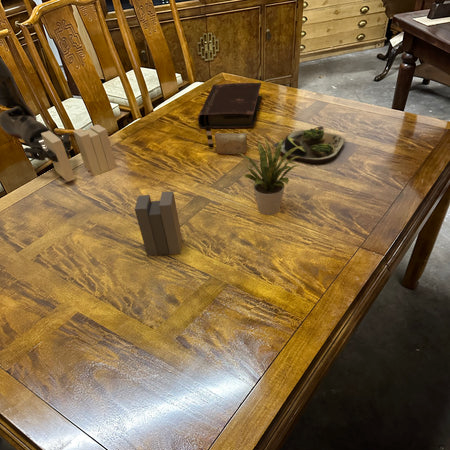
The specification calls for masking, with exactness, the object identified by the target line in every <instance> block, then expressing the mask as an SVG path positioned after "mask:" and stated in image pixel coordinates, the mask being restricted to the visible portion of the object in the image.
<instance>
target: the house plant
mask: <svg viewBox="0 0 450 450" xmlns="http://www.w3.org/2000/svg"><path fill="white" fill-rule="evenodd" d="M283 140H284V137H282V138H281V139H280V141H278V142H279V144H278V146H277V148H276V149H275V152H274V155H273V153H272V149H271V146H270V144H269V143H268V141H267V140H266V139H264V142H265V145H266V147H267V149H266V147H265V146H262V145H263V144H261V142H260V141H259V140H257V142H256V143H257V148H258V153H259V161H260V164H259V166H260V167H258V165H257V164H256V163H255V162H254V161H253V160H252V158H251V157H249V156H247V155H246V154H245V153H238V154H237V155H241V156H242V157H244V158H245V159H246V160H247V161H248V162H249V163H250V165H251V166H252V167H253V168H254V169H255V170H256V171H257V173H256V171H255V170H254V169H252V168H251V167H250V166H248V165H246V168H247V169H248V171H249V172H250V173H251V174H250V173H245V174H243V175H242V177H245V178H248V179H250V180H252V181H254V182H253V183H254V184H253V191H254V196H255V201H256V206H257V211H258V212H259V214H261V215H264V216H274V215H277V214H278V213H280V211H281V206H282V202H283V201H282V200H283V196H284V191H285V190H286V189H285V184H286V185H288V183H289V181H290V179H289V177H287V176H286V175H287V174H288V173H289V172H290V171H291V170H293V169H294V168H296V167H299V166H300V164H297V163H295V161H293V159H295V158H297V157H301V156H296V157H293V158H291V159H290V160H289V159H288V161H286V162H285V160H286V159H287V158H286V157H287V156H288V155H289V154H291V153H292V152H293V151H294V150H296V149H298V148H301V147H303V146H299V147H295V148H293V149H291V150H289V151H288V152H287V153H286V154H285V155H284V156H283V155H282V157H281V158H280V156H281V149H282V142H283ZM279 158H280V161H279ZM278 161H279V162H278ZM283 163H284V164H283ZM288 164H292V166H289V165H288ZM258 174H259V175H258Z"/></svg>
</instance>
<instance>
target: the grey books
mask: <svg viewBox="0 0 450 450" xmlns="http://www.w3.org/2000/svg"><path fill="white" fill-rule="evenodd" d="M136 199H137V200H136V203H135V206H134V213H135V216H136V217H135V218H136V220H137V223H138V227H139V231H140V234H141V238H142V242H143V245H144V249H145V252H146V255H147V257H150V256H165V255H167V256H168V255H181V253H182V247H183V246H182V245H183V236H182V230H181V226H180V220H179V214H178V209H177V204H176V199H175V194H174V191H173V190H171V191H170V190H169V191H162V192H161V195H160V199H159V200H152V198H151V195H150V194H141V195H138V196H137V198H136Z"/></svg>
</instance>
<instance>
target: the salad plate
mask: <svg viewBox="0 0 450 450" xmlns="http://www.w3.org/2000/svg"><path fill="white" fill-rule="evenodd" d="M279 142H280V141H278V142H276V143H274V144H273V145H272V148H276V149H277V146H278V144H279ZM344 143H345V140H344V139H343V137H342V136H341V135H338V134H334V133H325V132H324V126H323V125H322V126H321V125H320V126H316V127H314V128H310V129H303V130H302V129H301V130H295V131H293V132H291V133H290V134H289V135H287V136H286V138H285V139H283V142H282V149H281V153H280V155H282V157H283V156H284V155H285V154H286V153H287V152H288V151H289V150H291V149H293V148H295V147H299V146H303V147H301V148H298V149H296V150H294V151H293V152H292V153H291V154H289V155H288V156H287V157H286V158H285V159H287V160H288V161H289V160H290V159H291V158H293V157H296V156H301V157H297V158H295V159H293V160H292V162H297V163H301V164H308V165H321V164H326V163H328V162H329V161H331V160H333V159H334V158H336V157H337V156H338V154H339V152H340V150H342V147H343V145H344Z"/></svg>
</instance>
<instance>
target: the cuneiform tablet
mask: <svg viewBox="0 0 450 450" xmlns="http://www.w3.org/2000/svg"><path fill="white" fill-rule="evenodd" d="M204 129H205V133H206V140H207V144H208V148H209V147H214V143H215V149H216V154H224V155H232V154H233V155H236V154H237V155H239V154H238V153H242V154H248V137H247V136H248V134H247V133H246V132H242V133H232V132H231V133H230V132H229V133H228V132H227V133H225V132H224V133H223V132H221V133H219V132H218V133H215V134H214V141H213V135H212V128H211V127H210V126H205V128H204Z"/></svg>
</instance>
